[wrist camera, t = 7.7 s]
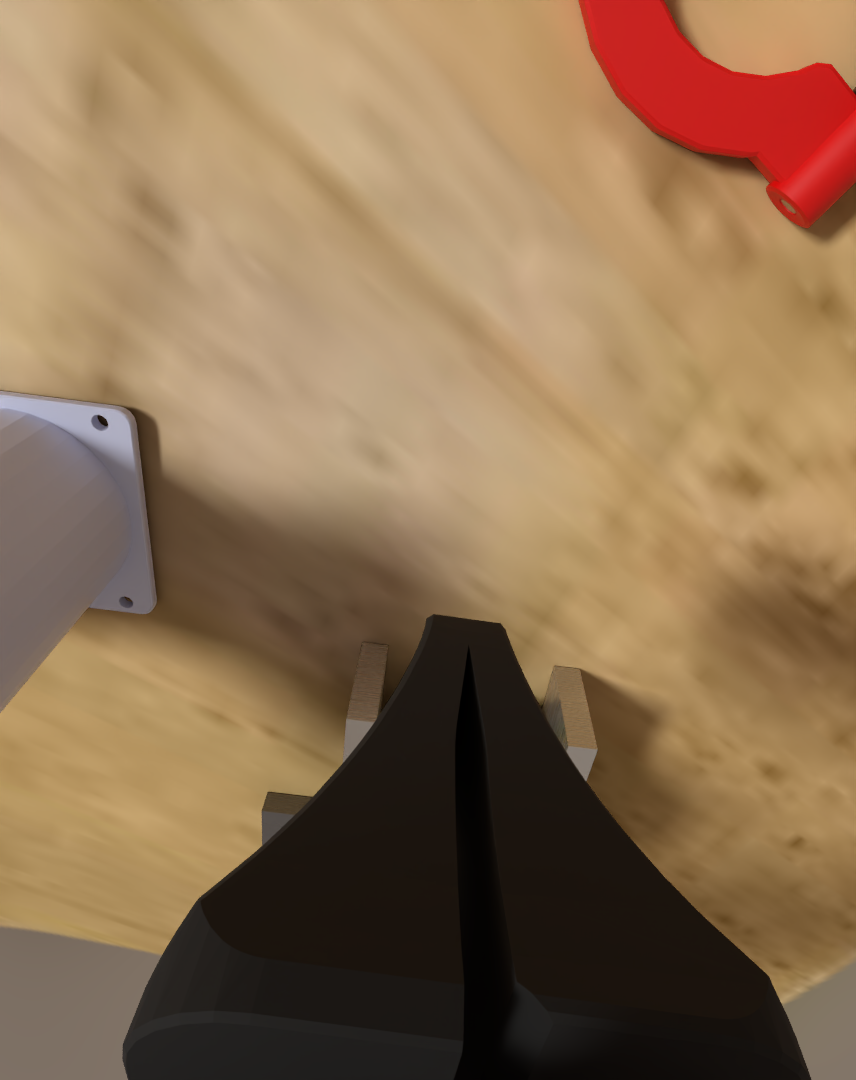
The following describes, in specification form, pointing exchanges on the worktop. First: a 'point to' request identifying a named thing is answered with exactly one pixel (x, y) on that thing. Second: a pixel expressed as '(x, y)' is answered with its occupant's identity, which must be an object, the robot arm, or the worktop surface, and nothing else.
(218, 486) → the worktop surface
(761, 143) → the tow hook
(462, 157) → the worktop surface
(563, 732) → the motor bracket
